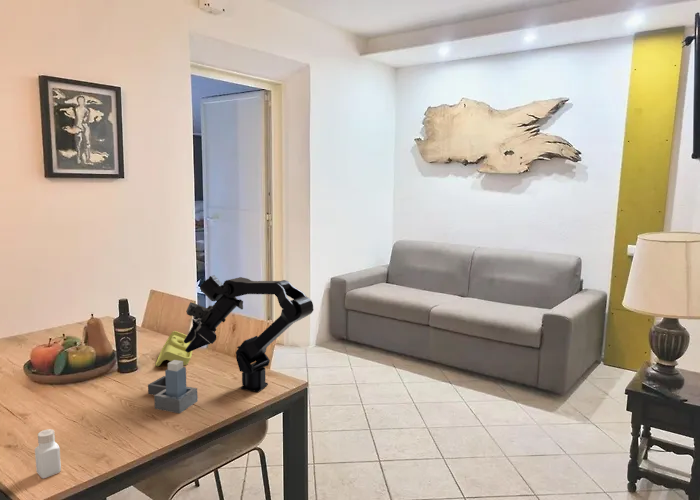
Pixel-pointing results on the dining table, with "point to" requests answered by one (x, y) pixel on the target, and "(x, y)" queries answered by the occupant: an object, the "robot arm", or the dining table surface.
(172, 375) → the plug
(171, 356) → the plastic component
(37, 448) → the white pill bottle
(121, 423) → the dining table surface
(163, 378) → the frame
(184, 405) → the socket block
